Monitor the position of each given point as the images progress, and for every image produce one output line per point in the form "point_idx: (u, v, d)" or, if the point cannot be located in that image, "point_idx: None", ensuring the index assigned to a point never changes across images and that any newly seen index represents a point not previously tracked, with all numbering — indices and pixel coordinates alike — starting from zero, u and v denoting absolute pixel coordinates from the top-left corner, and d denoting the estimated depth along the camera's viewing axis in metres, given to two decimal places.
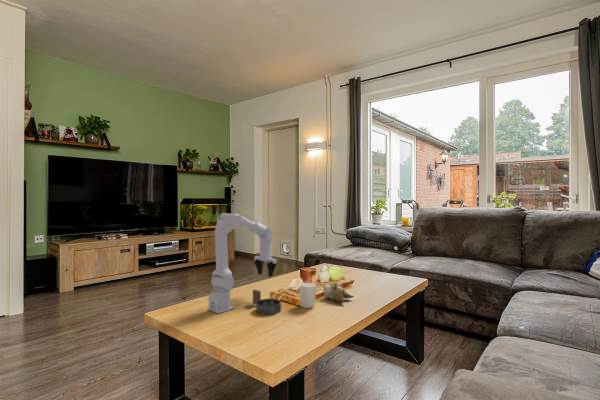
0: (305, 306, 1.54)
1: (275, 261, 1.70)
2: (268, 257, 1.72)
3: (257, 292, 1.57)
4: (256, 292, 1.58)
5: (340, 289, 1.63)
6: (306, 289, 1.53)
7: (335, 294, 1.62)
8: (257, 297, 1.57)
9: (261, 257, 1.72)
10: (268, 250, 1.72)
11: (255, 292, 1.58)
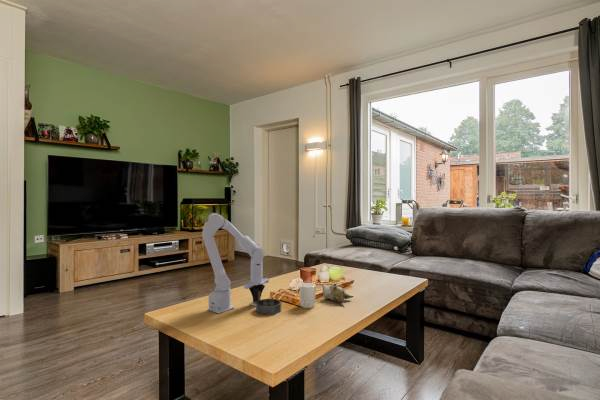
0: (305, 306, 1.54)
1: (245, 286, 1.53)
2: (251, 281, 1.56)
3: None
4: None
5: (340, 290, 1.62)
6: (306, 289, 1.53)
7: (335, 295, 1.61)
8: None
9: None
10: (251, 273, 1.56)
11: None
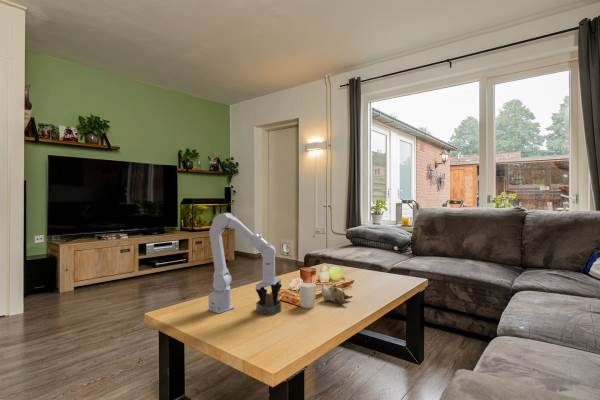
0: (305, 306, 1.54)
1: (257, 287, 1.45)
2: (263, 281, 1.49)
3: (269, 296, 1.49)
4: (268, 296, 1.50)
5: (341, 290, 1.60)
6: (306, 289, 1.53)
7: (336, 296, 1.59)
8: (269, 301, 1.49)
9: None
10: (263, 273, 1.49)
11: (267, 296, 1.50)
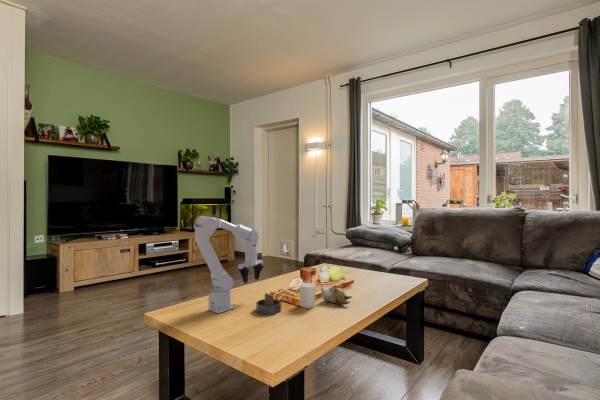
0: (305, 306, 1.54)
1: (240, 266, 1.58)
2: (246, 261, 1.62)
3: (269, 296, 1.49)
4: (268, 296, 1.50)
5: (341, 291, 1.59)
6: (306, 289, 1.53)
7: (337, 297, 1.58)
8: (269, 301, 1.49)
9: None
10: (246, 254, 1.61)
11: (267, 296, 1.50)
